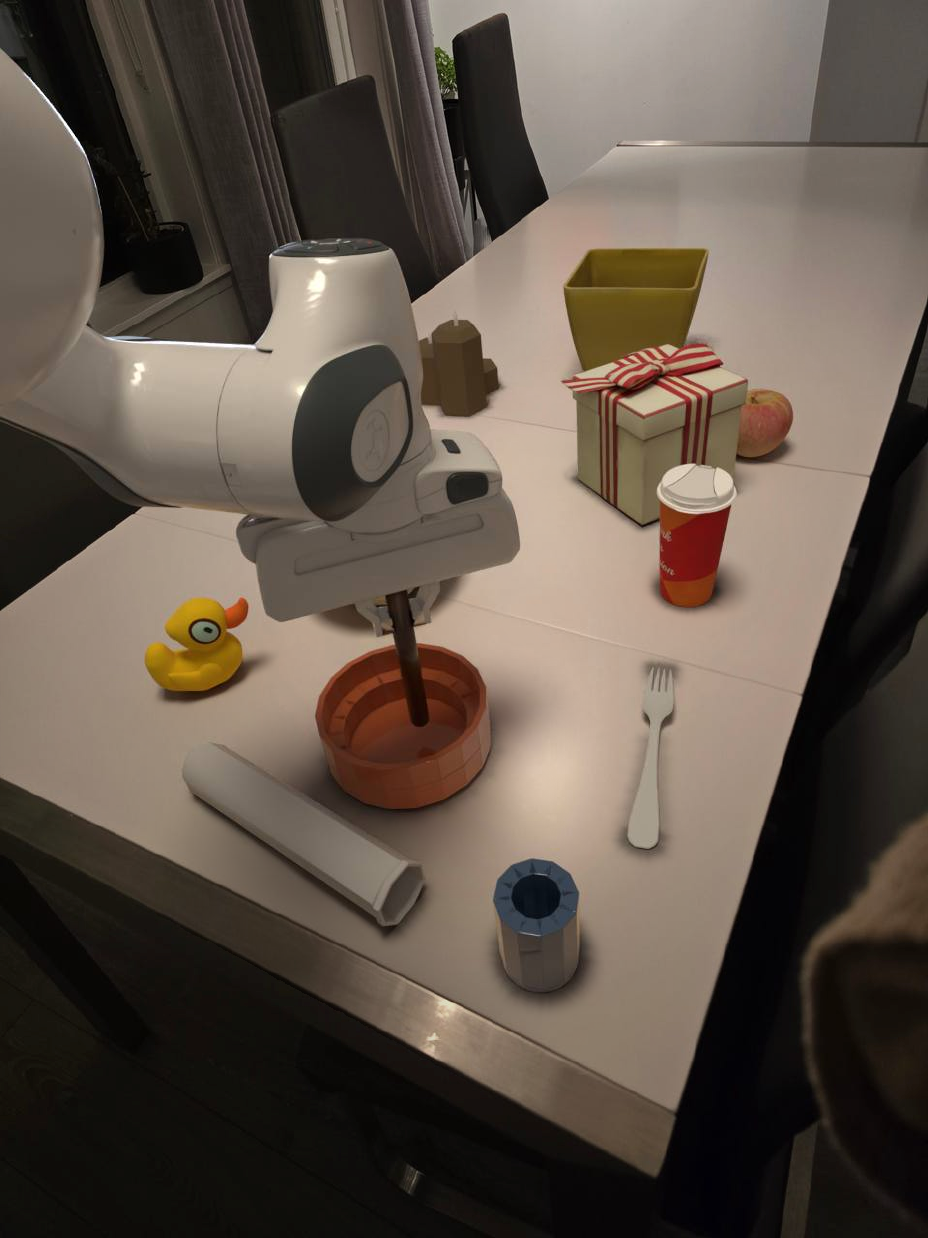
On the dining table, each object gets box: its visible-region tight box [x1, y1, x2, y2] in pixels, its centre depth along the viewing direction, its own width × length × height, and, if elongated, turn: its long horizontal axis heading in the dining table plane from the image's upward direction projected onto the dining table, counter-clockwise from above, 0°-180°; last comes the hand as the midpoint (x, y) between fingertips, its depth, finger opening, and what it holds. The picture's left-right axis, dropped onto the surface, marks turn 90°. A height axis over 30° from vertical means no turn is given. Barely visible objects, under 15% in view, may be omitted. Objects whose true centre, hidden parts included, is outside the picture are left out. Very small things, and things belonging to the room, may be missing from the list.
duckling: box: [144, 597, 249, 692], centre depth 82 cm, size 11×5×10 cm, turn 112°
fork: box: [626, 666, 675, 850], centre depth 72 cm, size 3×21×3 cm, turn 165°
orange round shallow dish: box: [314, 642, 492, 810], centre depth 73 cm, size 15×15×6 cm
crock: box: [492, 857, 581, 994], centre depth 56 cm, size 6×6×8 cm
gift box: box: [560, 342, 749, 526], centre depth 101 cm, size 17×18×17 cm
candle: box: [418, 310, 500, 417], centre depth 126 cm, size 14×14×15 cm
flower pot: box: [562, 247, 710, 372], centre depth 126 cm, size 19×19×17 cm
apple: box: [736, 388, 794, 458], centre depth 107 cm, size 9×9×8 cm
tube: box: [181, 742, 426, 927], centre depth 67 cm, size 5×5×25 cm
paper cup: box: [657, 464, 738, 608], centre depth 84 cm, size 8×8×14 cm
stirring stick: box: [385, 590, 430, 727], centre depth 68 cm, size 2×2×17 cm
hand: (402, 625), depth 66 cm, fingers closed on stirring stick, 2 cm apart
